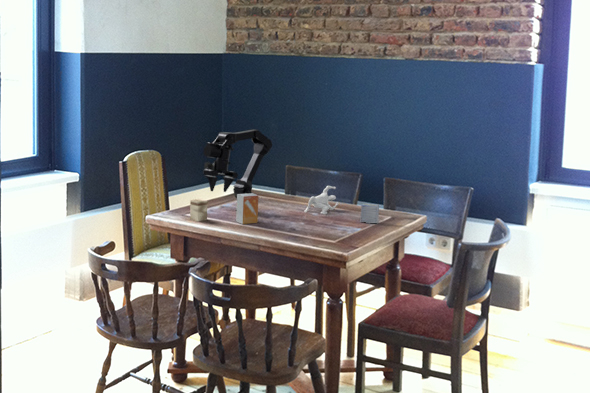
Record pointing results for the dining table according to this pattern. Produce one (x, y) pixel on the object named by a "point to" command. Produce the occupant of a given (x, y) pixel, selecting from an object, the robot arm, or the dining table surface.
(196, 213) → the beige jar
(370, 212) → the medicine box
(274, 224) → the dining table surface
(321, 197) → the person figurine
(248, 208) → the small box
